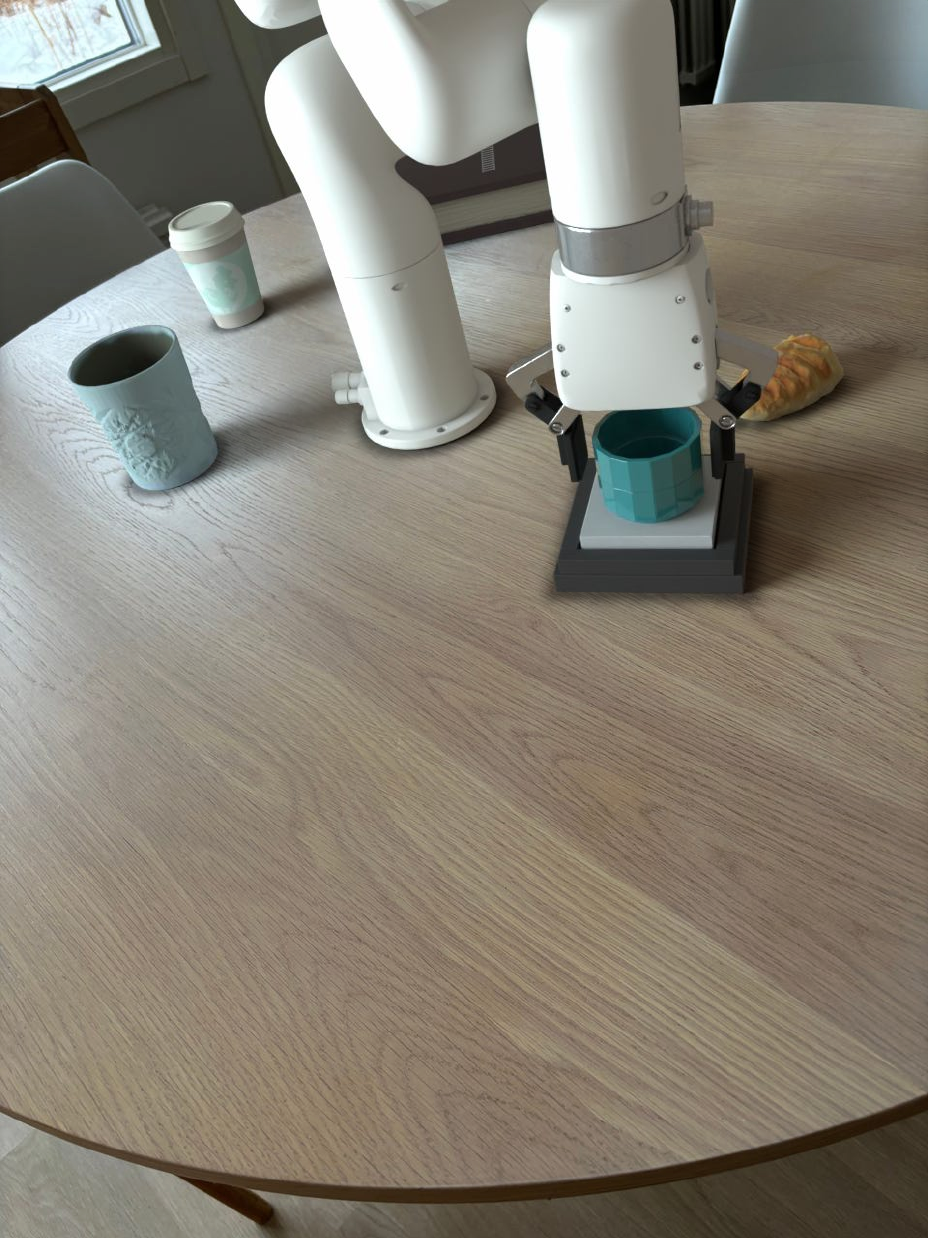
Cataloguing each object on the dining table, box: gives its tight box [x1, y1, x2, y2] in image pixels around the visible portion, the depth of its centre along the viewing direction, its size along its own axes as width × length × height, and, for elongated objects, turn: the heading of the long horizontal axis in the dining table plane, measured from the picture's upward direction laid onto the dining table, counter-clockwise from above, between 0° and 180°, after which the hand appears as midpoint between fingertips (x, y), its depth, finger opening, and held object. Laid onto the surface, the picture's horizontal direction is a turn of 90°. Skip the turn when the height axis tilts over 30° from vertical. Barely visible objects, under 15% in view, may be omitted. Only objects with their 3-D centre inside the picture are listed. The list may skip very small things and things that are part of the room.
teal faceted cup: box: [591, 407, 706, 523], centre depth 70 cm, size 7×7×6 cm
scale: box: [552, 452, 754, 595], centre depth 73 cm, size 13×12×3 cm
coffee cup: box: [168, 200, 265, 330], centre depth 114 cm, size 8×8×12 cm
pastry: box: [736, 333, 845, 423], centre depth 82 cm, size 9×7×4 cm
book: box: [395, 122, 554, 246], centre depth 125 cm, size 28×20×6 cm
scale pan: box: [580, 456, 723, 549], centre depth 72 cm, size 9×9×2 cm
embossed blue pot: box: [66, 324, 219, 491], centre depth 93 cm, size 10×10×12 cm
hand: (648, 468), depth 70 cm, fingers open, 9 cm apart
